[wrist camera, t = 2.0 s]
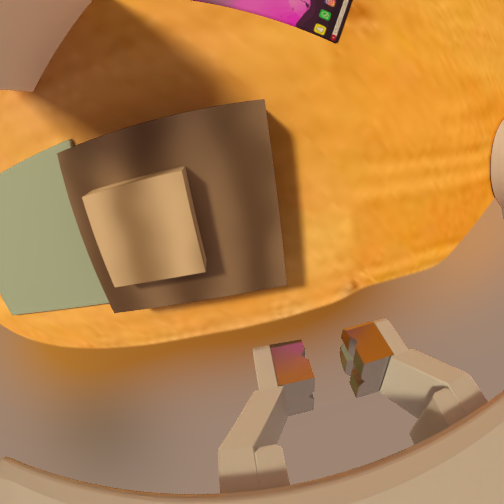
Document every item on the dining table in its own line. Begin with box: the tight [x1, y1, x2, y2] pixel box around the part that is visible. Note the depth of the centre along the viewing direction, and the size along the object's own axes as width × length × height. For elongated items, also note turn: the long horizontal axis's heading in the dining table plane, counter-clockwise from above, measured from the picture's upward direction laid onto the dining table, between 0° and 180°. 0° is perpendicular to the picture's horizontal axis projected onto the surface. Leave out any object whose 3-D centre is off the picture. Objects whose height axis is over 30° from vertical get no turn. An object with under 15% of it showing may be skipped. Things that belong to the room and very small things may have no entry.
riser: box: [57, 99, 287, 313], centre depth 24 cm, size 17×16×4 cm
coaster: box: [82, 166, 207, 287], centre depth 21 cm, size 8×8×2 cm
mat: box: [0, 139, 109, 315], centre depth 25 cm, size 20×18×1 cm
